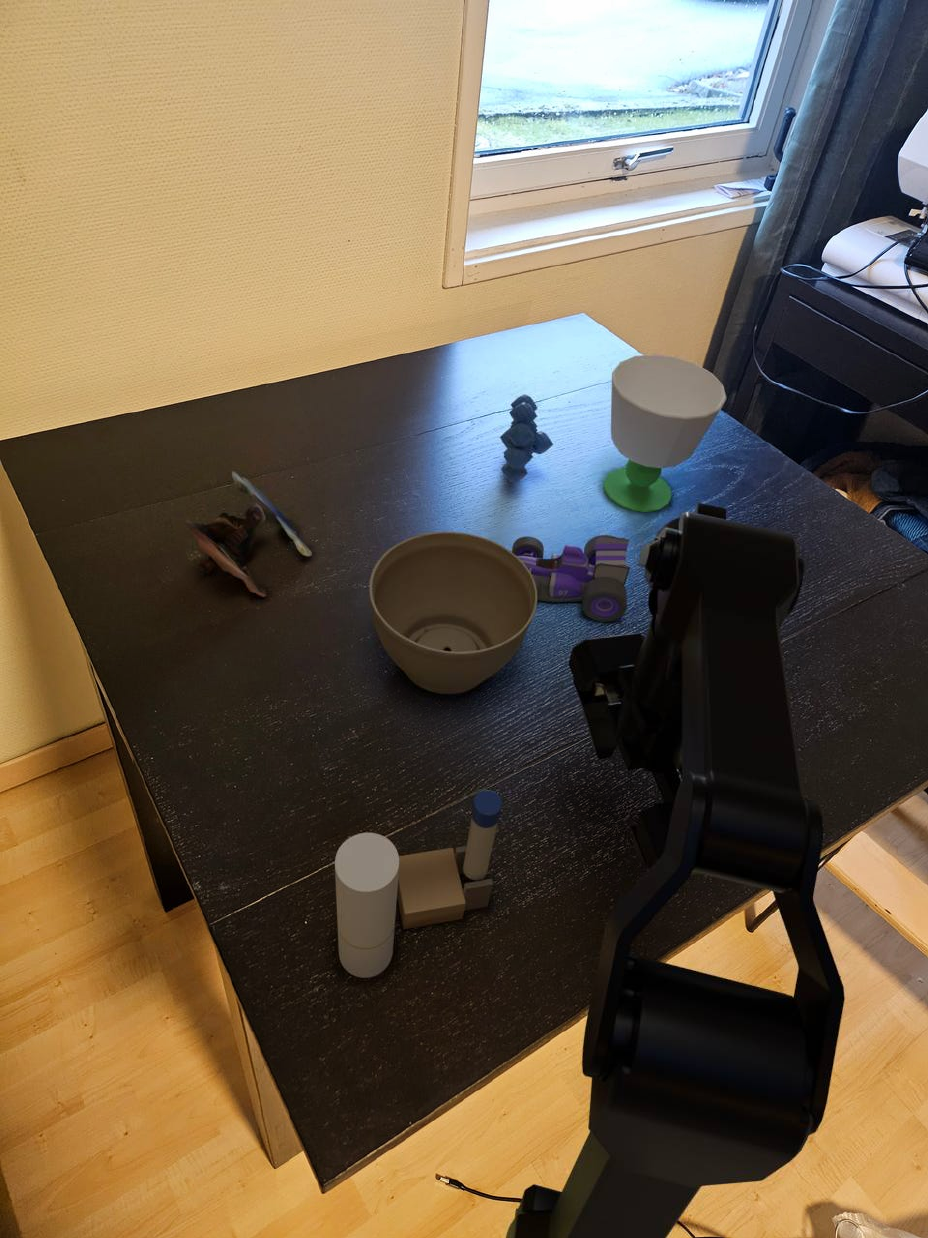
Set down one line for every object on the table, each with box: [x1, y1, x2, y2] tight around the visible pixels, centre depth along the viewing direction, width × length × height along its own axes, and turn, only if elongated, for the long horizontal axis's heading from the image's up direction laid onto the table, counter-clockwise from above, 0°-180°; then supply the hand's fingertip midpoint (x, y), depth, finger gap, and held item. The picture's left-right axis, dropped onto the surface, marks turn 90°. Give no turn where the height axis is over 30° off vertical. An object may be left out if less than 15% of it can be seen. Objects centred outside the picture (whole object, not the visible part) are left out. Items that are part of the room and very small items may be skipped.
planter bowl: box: [368, 531, 538, 695], centre depth 86 cm, size 16×16×11 cm
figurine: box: [184, 471, 313, 598], centre depth 95 cm, size 15×9×13 cm
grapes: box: [499, 394, 554, 484], centre depth 107 cm, size 12×7×12 cm, turn 174°
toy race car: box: [511, 534, 631, 623], centre depth 96 cm, size 10×15×6 cm, turn 83°
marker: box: [463, 789, 503, 881], centre depth 66 cm, size 2×10×2 cm
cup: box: [603, 353, 727, 513], centre depth 107 cm, size 14×14×16 cm
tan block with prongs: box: [397, 845, 494, 930], centre depth 71 cm, size 5×7×4 cm
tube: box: [334, 832, 400, 979], centre depth 63 cm, size 4×4×15 cm
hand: (623, 806), depth 66 cm, fingers open, 9 cm apart
